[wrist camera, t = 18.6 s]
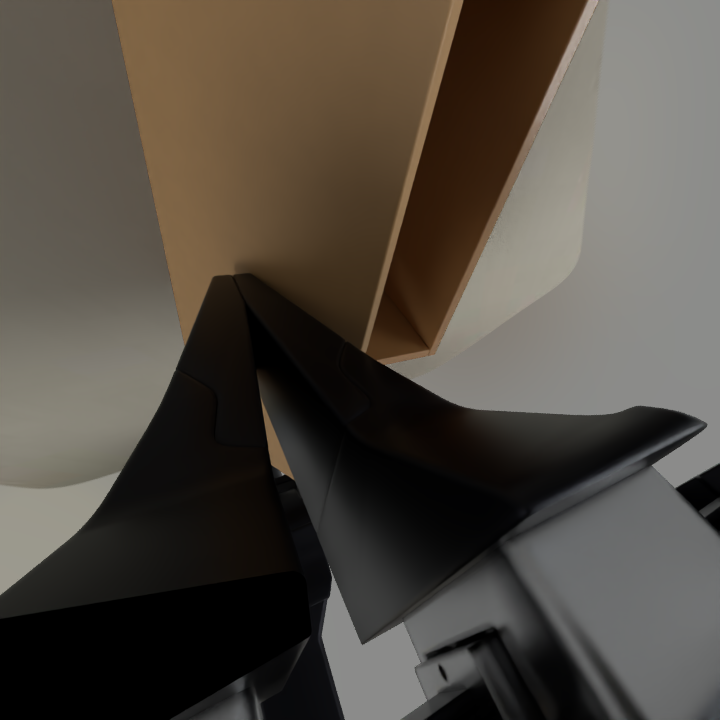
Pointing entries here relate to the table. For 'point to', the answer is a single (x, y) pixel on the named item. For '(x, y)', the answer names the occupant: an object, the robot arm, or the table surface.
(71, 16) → the table surface
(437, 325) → the cardboard box
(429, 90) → the flap
